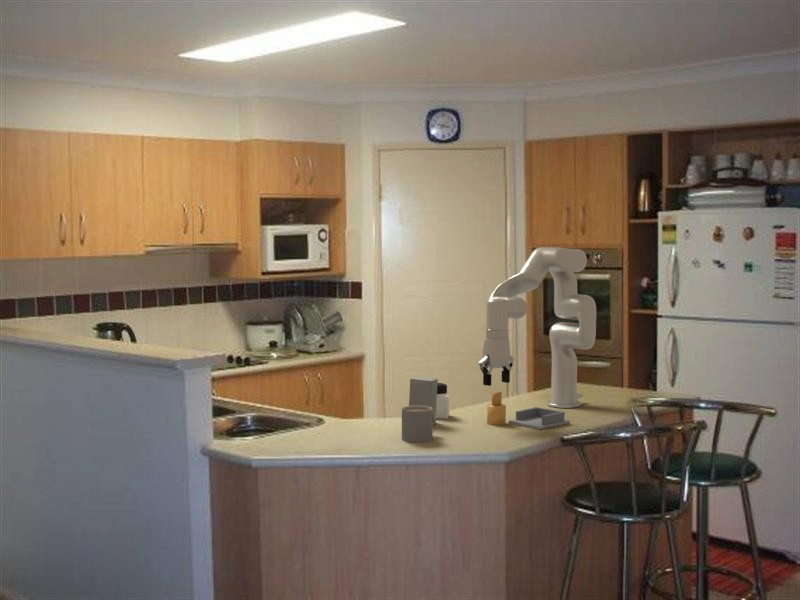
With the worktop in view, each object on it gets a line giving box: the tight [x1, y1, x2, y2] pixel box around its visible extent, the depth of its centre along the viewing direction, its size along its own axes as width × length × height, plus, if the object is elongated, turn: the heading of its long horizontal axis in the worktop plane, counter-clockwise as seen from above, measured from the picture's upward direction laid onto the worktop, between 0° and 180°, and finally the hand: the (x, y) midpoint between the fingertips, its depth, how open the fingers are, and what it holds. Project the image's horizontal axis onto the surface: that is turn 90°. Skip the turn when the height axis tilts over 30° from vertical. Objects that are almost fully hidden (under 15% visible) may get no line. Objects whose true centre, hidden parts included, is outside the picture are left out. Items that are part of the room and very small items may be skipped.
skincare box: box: [408, 376, 439, 423], centre depth 347 cm, size 8×7×16 cm
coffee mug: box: [401, 405, 436, 443], centre depth 324 cm, size 13×10×10 cm
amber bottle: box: [486, 391, 507, 426], centre depth 346 cm, size 6×6×11 cm
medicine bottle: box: [436, 382, 450, 420], centre depth 358 cm, size 7×7×12 cm
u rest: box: [508, 406, 570, 430], centre depth 347 cm, size 16×14×4 cm
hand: (496, 383), depth 345 cm, fingers open, 9 cm apart
